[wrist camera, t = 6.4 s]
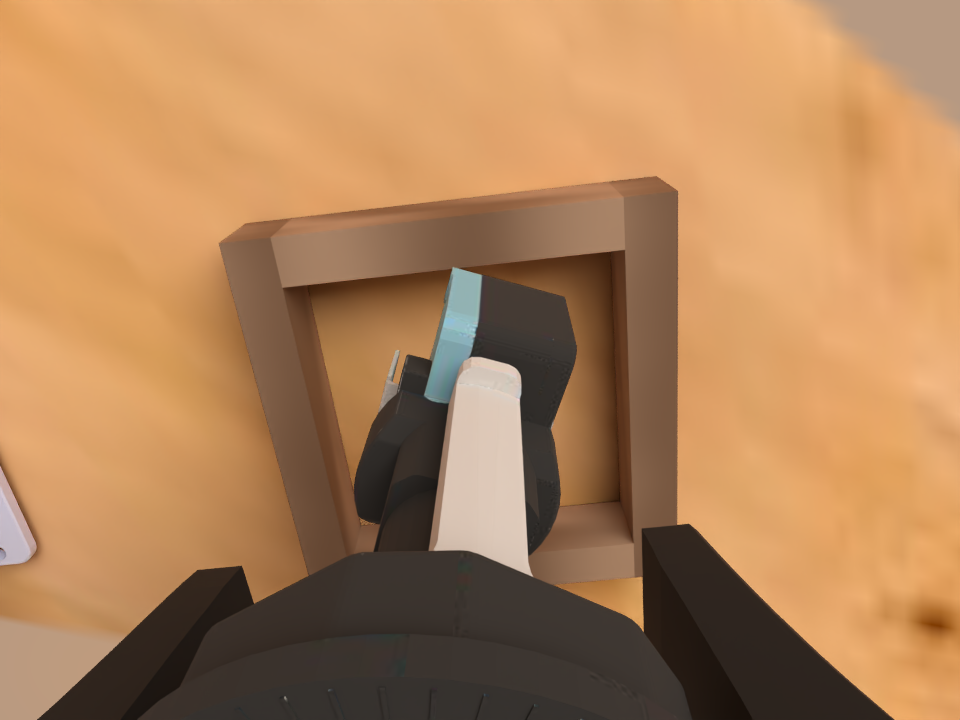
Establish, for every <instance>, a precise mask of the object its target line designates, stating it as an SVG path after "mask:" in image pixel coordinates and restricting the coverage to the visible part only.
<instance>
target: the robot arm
mask: <svg viewBox="0 0 960 720" xmlns="http://www.w3.org/2000/svg"><path fill="white" fill-rule="evenodd" d="M0 548H2V549H3V550H4V551H3V550H1V549H0V566H1V565H11V564H21V563H24V562H27V561H28V560H29V559H30V558H31V557H32V556H33V555H34V553H35V552H36V549H37V546H36V542H35V540H34V538H33V536H32V534H31V531H30V529H29V527H28V525H27V523H26V521H25V519H24V516H23V514H22V512H21V510H20V508H19V506H18V503H17V501H16V499H15V497H14V495H13V493H12V490H11V488H10V486H9V484H8V482H7V480H6V478H5V475H4V473H3V471H2V469H1V467H0ZM642 571H643V614H644V634H645V635H646V636H647V638H648V639H649V640H650V642H651V643H652V645H653V646H654V647H655V649H656V650H657V651H658V653H659V654H660V656H661V657H662V658H663V660H664V661H665V662H666V664H667V665H668V666H669V668H670V669H671V671H672V672H673V673H674V675H675V676H676V677H677V679H678V680H679V682H680V683H681V684H682V687H683V689H684V692H685V695H686V699H687V702H688V706H689V710H690V713H691V717H692V720H894V719H893V718H892V717H891V716H889V715H888V714H887V713H886V712H885V711H884V710H882V709H881V708H880V707H879V706H878V705H877V704H875V703H874V702H873V701H872V700H871V699H870V698H868V697H867V696H866V695H865V694H864V693H863V692H861V691H860V690H859V689H858V688H857V687H856V686H855V685H853V684H852V683H851V682H850V681H849V680H848V679H846V678H845V677H844V676H843V675H842V674H841V673H840V672H839V671H838V670H836V669H835V668H834V667H833V666H832V665H831V664H830V663H829V662H828V661H827V660H825V659H824V658H823V657H822V656H821V655H820V654H819V653H818V652H817V651H816V650H815V649H814V648H813V647H811V646H810V645H809V644H808V643H807V642H806V641H805V640H804V639H803V638H802V637H801V636H800V635H799V634H798V633H797V632H796V631H795V630H794V629H792V628H791V627H790V626H789V625H788V624H787V623H786V622H785V621H784V620H783V619H782V618H781V617H780V616H779V615H778V614H777V613H776V612H775V611H774V610H773V609H772V608H771V607H770V606H769V605H768V604H767V603H766V602H765V601H764V600H763V599H762V598H761V597H760V596H759V595H758V594H757V593H756V592H755V591H754V590H753V589H752V588H751V587H750V586H749V585H748V584H747V583H746V582H745V581H744V580H743V579H742V578H741V577H740V576H739V575H738V574H737V573H736V572H735V571H734V570H733V569H732V568H731V567H730V566H729V564H728V563H727V562H726V561H725V560H724V559H723V558H722V557H721V556H720V555H719V554H718V553H717V552H716V551H715V549H714V548H713V547H712V546H711V545H710V544H709V543H708V542H707V541H706V540H705V539H704V538H703V536H702V535H701V534H700V533H699V532H698V531H697V530H696V529H695V528H693V527H692V526H691V525H690V524H683V525H673V526H662V527H651V528H642ZM253 604H254V602H253V599H252V596H251V593H250V590H249V587H248V583H247V580H246V577H245V574H244V571H243V568H242V566H236V567H226V568H215V569H205V570H197V571H196V572H195V573H194V574H192V575H191V576H190V577H189V578H188V579H187V580H186V581H184V582H183V583H182V584H181V585H180V586H179V587H178V588H177V589H176V590H175V591H174V592H172V593H171V594H170V595H169V596H168V597H167V598H166V599H165V600H164V601H163V602H162V603H161V604H160V605H159V606H158V607H157V608H156V609H155V610H153V611H152V612H151V613H150V614H149V615H148V616H147V617H146V618H145V619H144V620H143V621H142V622H141V623H140V624H139V625H138V626H137V627H136V628H135V629H134V630H133V631H132V632H131V633H130V634H129V635H127V636H126V637H125V638H124V639H123V640H122V641H121V642H120V643H119V644H118V645H117V646H116V647H115V648H114V649H113V650H112V651H111V652H110V653H109V654H108V655H106V656H105V657H104V659H102V660H101V661H100V662H99V663H98V664H97V665H96V666H95V667H94V668H93V669H92V670H91V671H90V672H88V673H87V674H86V675H85V676H84V677H83V678H82V679H81V680H80V681H79V682H78V683H77V684H76V685H75V686H74V687H73V688H72V689H70V690H69V691H68V692H67V693H66V694H65V695H64V696H63V697H62V698H61V699H60V700H59V701H58V702H57V703H55V704H54V705H53V706H52V707H51V708H50V709H49V710H48V711H46V712H45V713H44V714H43V715H42V716H41V717H40V718H39V719H37V720H137V719H138V718H139V717H141V716H142V715H143V714H144V713H145V712H146V711H148V710H149V709H150V708H151V707H152V706H153V705H155V704H156V703H157V702H158V701H159V700H161V699H162V698H164V697H165V696H167V695H168V694H170V693H171V692H173V691H174V690H176V689H177V688H179V687H180V686H181V683H182V681H183V679H184V677H185V675H186V673H187V671H188V669H189V667H190V665H191V663H192V661H193V659H194V657H195V655H196V653H197V651H198V649H199V647H200V644H201V642H202V640H203V638H204V636H205V635H206V633H207V632H208V631H209V630H210V629H211V627H212V626H214V625H215V624H217V623H218V622H220V621H222V620H224V619H226V618H228V617H230V616H232V615H234V614H236V613H238V612H239V611H241V610H243V609H245V608H247V607H249V606H251V605H253Z"/></svg>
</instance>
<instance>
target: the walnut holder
mask: <svg viewBox="0 0 960 720" xmlns="http://www.w3.org/2000/svg"><path fill="white" fill-rule="evenodd" d="M219 246H220V250H221V254H222V257H223V261H224V265H225V269H226V272H227V276H228V280H229V283H230V287H231V291H232V294H233V298H234V302H235V305H236V309H237V313H238V316H239V320H240V324H241V327H242V331H243V335H244V338H245V342H246V346H247V350H248V353H249V357H250V361H251V364H252V368H253V372H254V375H255V379H256V383H257V386H258V390H259V394H260V397H261V401H262V405H263V408H264V412H265V416H266V419H267V423H268V427H269V431H270V434H271V438H272V442H273V445H274V449H275V453H276V456H277V460H278V464H279V467H280V471H281V475H282V478H283V482H284V486H285V489H286V493H287V497H288V500H289V504H290V508H291V512H292V515H293V519H294V523H295V526H296V530H297V534H298V537H299V541H300V545H301V548H302V552H303V556H304V559H305V563H306V567H307V570H308V574H309V576H310V575H312V574H314V573H315V572H317V571H319V570H321V569H323V568H325V567H327V566H329V565H331V564H333V563H335V562H337V561H339V560H341V559H343V558H345V557H347V556H349V555H351V554H356V553H361V552H373V551H374V547H375V542H376V538H377V534H378V530H379V526H380V524H374V525H363V526H361V524H360V519H359V516H358V514H357V510H356V505H355V501H354V492H353V488H352V483H351V479H350V475H349V470H348V466H347V461H346V457H345V452H344V448H343V443H342V439H341V434H340V430H339V426H338V421H337V417H336V412H335V408H334V403H333V399H332V394H331V390H330V385H329V381H328V377H327V372H326V368H325V363H324V359H323V354H322V350H321V345H320V341H319V336H318V332H317V327H316V323H315V319H314V314H313V310H312V305H311V301H310V296H309V292H308V287H307V285H312V284H321V283H330V282H339V281H348V280H357V279H366V278H375V277H384V276H393V275H402V274H411V273H420V272H429V271H438V270H447V269H452V268H453V267H454V268H465V267H474V266H483V265H492V264H501V263H510V262H519V261H528V260H537V259H546V258H555V257H564V256H573V255H582V254H591V253H600V252H609V251H611V272H612V299H613V325H614V352H615V378H616V405H617V432H618V458H619V485H620V501H615V502H605V503H594V504H584V505H573V506H563V507H559V510H558V514H557V517H556V520H555V522H554V524H553V527H552V529H551V531H550V533H549V534H548V536H547V537H546V538H545V540H544V541H543V543H542V544H541V545H540V546H539V547H538V548H537V549H536V550H535V551H534V552H533V553H532V554H531V555H530V556H528V563H529V567H530V570H531V574H532V575H533V577H535V578H537V579H539V580H542V581H544V582H547V583H549V584H551V585H556V584H567V583H578V582H589V581H600V580H611V579H622V578H633V577H643V571H642V528H651V527H662V526H673V525H677V372H678V191H677V190H676V189H674V188H673V187H671V186H670V185H669V184H667V183H666V182H664V181H663V180H661V179H660V178H658V177H657V176H655V177H646V178H638V179H629V180H620V181H612V182H603V183H594V184H586V185H577V186H568V187H560V188H551V189H542V190H534V191H525V192H516V193H508V194H499V195H490V196H482V197H473V198H464V199H455V200H447V201H438V202H429V203H421V204H412V205H403V206H395V207H386V208H377V209H369V210H360V211H351V212H343V213H334V214H325V215H317V216H308V217H299V218H291V219H282V220H273V221H264V222H256V223H247V224H245V225H243V226H242V227H240V228H239V229H238V230H236V231H235V232H234V233H232V234H231V235H229V236H228V237H227V238H225V239H224V240H223V241H221V242H220V243H219Z"/></svg>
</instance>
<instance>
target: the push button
mask: <svg viewBox="0 0 960 720" xmlns="http://www.w3.org/2000/svg"><path fill="white" fill-rule="evenodd" d="M444 303H445V304H444V308H443V312H442V316H441V319H440V323H439V327H438V331H437V334H436V338H435V342H434V345H433V349H432V353H431V357H430V360H428V359H424V358H420V357H416V356H413V355H407V356H406V360H405V363H404V367H403V370H402V374H401V378H400V382H399V384H396V383H393V378H394V374H395V370H396V366H397V362H398V358H399V353H400V351H398V350H396V351H395V355H394V358H393V361H392V364H391V367H390V370H389V373H388V377H387V380H386V383H385V387H384V391H383V395H382V399H381V404H380V408H379V412H378V415H377V417H376V418H375V420H374V422H373V424H372V426H371V429H370V432H369V435H368V438H367V441H366V444H365V447H364V450H363V453H362V456H361V459H360V462H359V465H358V469H357V472H356V477H355V483H354V501H355V505H356V510H357V514H358V516H359V517H360V518H362V519H364V520H366V521H368V522H371V523H375V524H380V526H379V530H378V534H377V538H376V542H375V547H374V551H373V552H361V553H356V554H351V555H349V556H347V557H345V558H343V559H341V560H339V561H337V562H335V563H333V564H331V565H329V566H327V567H325V568H323V569H321V570H319V571H317V572H315V573H314V574H312V575H310V576H308V577H306V578H304V579H302V580H300V581H298V582H296V583H294V584H292V585H290V586H288V587H286V588H284V589H282V590H280V591H278V592H277V593H275V594H273V595H271V596H269V597H267V598H265V599H263V600H261V601H259V602H257V603H255V604H253V605H251V606H249V607H247V608H245V609H243V610H241V611H239V612H238V613H236V614H234V615H232V616H230V617H228V618H226V619H224V620H222V621H220V622H218V623H217V624H215V625H214V626H212V627H211V629H210V630H209V631H208V632H207V633H206V635H205V636H204V638H203V640H202V642H201V644H200V647H199V649H198V651H197V653H196V655H195V657H194V659H193V661H192V663H191V665H190V667H189V669H188V671H187V673H186V675H185V677H184V679H183V681H182V683H181V686H180V687H179V688H177V689H176V690H174V691H173V692H171V693H170V694H168V695H167V696H165V697H164V698H162V699H161V700H159V701H158V702H157V703H156V704H155V705H153V706H152V707H151V708H150V709H149V710H148V711H146V712H145V713H144V714H143V715H142V716H141V717H139V718H138V719H137V720H692V717H691V713H690V710H689V706H688V702H687V699H686V695H685V692H684V689H683V687H682V684H681V683H680V682H679V680H678V679H677V677H676V676H675V675H674V673H673V672H672V671H671V669H670V668H669V666H668V665H667V664H666V662H665V661H664V660H663V658H662V657H661V656H660V654H659V653H658V651H657V650H656V649H655V647H654V646H653V645H652V643H651V642H650V640H649V639H648V638H647V636H646V635H645V634H644V632H643V631H642V629H641V628H640V627H639V626H638V625H637V624H636V623H635V622H634V621H633V620H632V619H630V618H628V617H626V616H625V615H623V614H620V613H618V612H616V611H613V610H611V609H608V608H606V607H604V606H601V605H599V604H597V603H594V602H592V601H589V600H587V599H585V598H582V597H580V596H578V595H575V594H573V593H570V592H568V591H566V590H563V589H561V588H558V587H556V586H554V585H551V584H549V583H547V582H544V581H542V580H539V579H537V578H535V577H533V575H532V574H531V570H530V567H529V563H528V556H530V555H531V554H532V553H533V552H534V551H535V550H536V549H537V548H538V547H539V546H540V545H541V544H542V543H543V541H544V540H545V538H546V537H547V536H548V534H549V533H550V531H551V529H552V527H553V524H554V522H555V520H556V517H557V514H558V510H559V505H560V496H561V493H560V479H559V471H558V464H557V457H556V449H555V442H554V439H553V435H552V431H551V429H552V426H553V423H554V422H553V421H554V419H555V416H556V413H557V410H558V408H559V405H560V402H561V400H562V397H563V394H564V392H565V389H566V386H567V384H568V381H569V378H570V375H571V373H572V370H573V367H574V363H575V359H576V352H577V345H576V341H575V337H574V333H573V329H572V325H571V321H570V317H569V312H568V308H567V304H566V300H565V297H563V296H559V295H555V294H552V293H548V292H545V291H541V290H537V289H534V288H530V287H526V286H522V285H519V284H515V283H511V282H508V281H504V280H500V279H496V278H493V277H489V276H485V275H480V274H476V273H473V272H469V271H465V270H462V269H458V268H454V267H453V268H452V271H451V275H450V279H449V283H448V286H447V290H446V294H445V298H444Z"/></svg>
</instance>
